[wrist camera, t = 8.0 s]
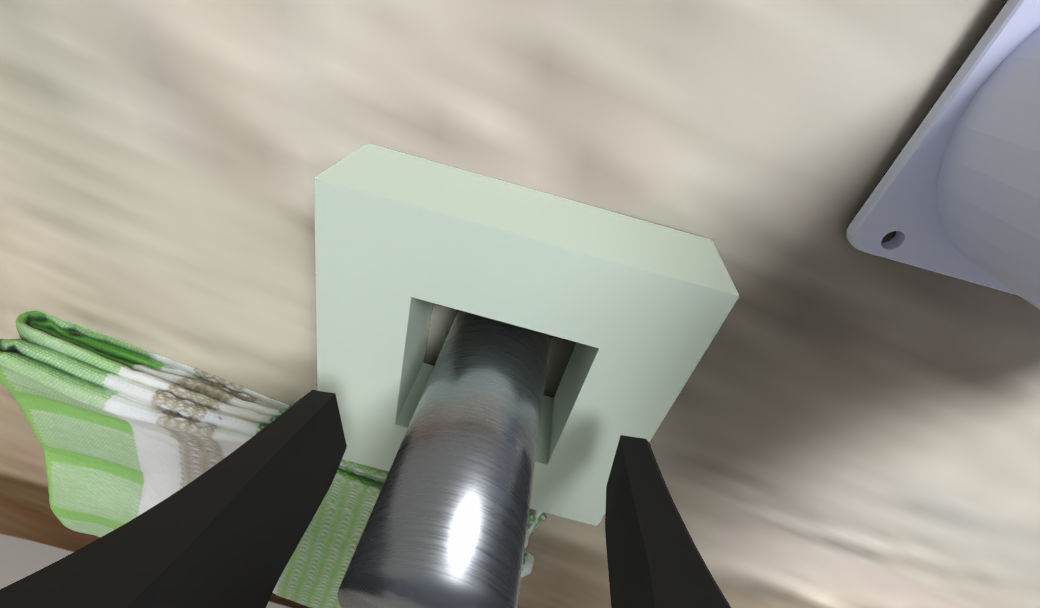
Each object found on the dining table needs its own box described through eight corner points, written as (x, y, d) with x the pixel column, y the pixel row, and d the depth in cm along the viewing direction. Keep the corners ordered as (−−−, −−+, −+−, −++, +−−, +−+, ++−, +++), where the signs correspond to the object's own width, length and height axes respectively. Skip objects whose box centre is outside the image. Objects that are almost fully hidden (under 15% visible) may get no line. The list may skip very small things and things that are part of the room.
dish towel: (452, 624, 30) (437, 691, 27) (94, 510, 28) (36, 569, 25) (560, 482, 21) (555, 561, 18) (34, 291, 19) (-70, 346, 16)
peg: (548, 281, 15) (502, 577, 7) (554, 360, 16) (523, 665, 9) (449, 284, 15) (311, 561, 8) (466, 360, 17) (366, 647, 9)
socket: (711, 239, 13) (739, 295, 11) (596, 456, 19) (597, 526, 16) (367, 142, 13) (314, 177, 10) (355, 391, 18) (318, 453, 16)
